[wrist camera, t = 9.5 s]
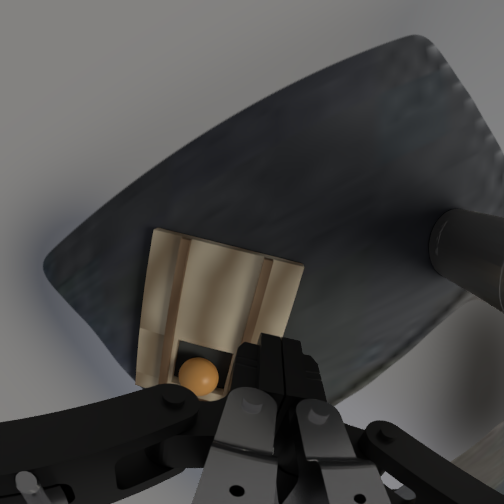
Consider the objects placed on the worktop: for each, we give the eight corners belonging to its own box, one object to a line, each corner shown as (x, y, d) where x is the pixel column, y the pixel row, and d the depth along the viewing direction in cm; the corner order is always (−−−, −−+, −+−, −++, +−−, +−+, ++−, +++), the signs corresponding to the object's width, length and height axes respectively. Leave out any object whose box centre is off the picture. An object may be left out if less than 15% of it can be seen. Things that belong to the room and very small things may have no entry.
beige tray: (302, 263, 35) (306, 272, 31) (254, 409, 39) (254, 425, 36) (158, 227, 34) (147, 232, 31) (138, 378, 39) (130, 392, 36)
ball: (213, 403, 36) (220, 368, 39) (215, 396, 32) (223, 357, 35) (175, 393, 36) (184, 359, 39) (172, 385, 32) (183, 347, 35)
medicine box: (397, 497, 46) (406, 524, 37) (388, 494, 45) (397, 522, 37) (425, 478, 44) (437, 505, 36) (417, 474, 44) (429, 502, 35)
